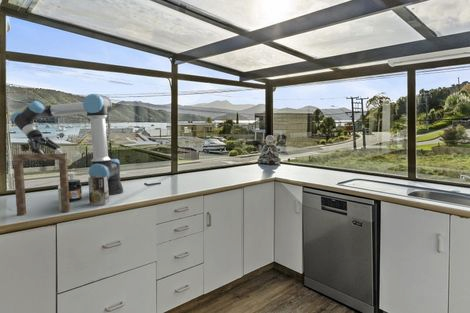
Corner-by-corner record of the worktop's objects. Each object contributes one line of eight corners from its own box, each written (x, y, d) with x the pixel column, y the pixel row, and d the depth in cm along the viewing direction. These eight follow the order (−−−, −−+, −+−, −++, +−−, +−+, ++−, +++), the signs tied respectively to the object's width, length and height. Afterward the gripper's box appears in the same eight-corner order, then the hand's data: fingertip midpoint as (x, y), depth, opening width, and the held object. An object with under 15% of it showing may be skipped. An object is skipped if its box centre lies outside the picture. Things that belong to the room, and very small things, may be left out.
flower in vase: (83, 191, 211) (81, 155, 209) (80, 194, 200) (78, 157, 198) (62, 192, 207) (60, 156, 205) (58, 195, 197) (55, 157, 194)
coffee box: (109, 202, 180) (108, 175, 178) (105, 205, 173) (104, 177, 172) (94, 202, 180) (92, 175, 178) (89, 205, 173) (87, 177, 172)
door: (66, 210, 161) (65, 187, 160) (59, 210, 159) (58, 188, 158) (66, 203, 174) (65, 183, 173) (60, 204, 173) (58, 183, 171)
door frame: (69, 210, 162) (66, 153, 158) (68, 212, 159) (64, 153, 156) (19, 213, 156) (15, 154, 153) (17, 215, 153) (12, 154, 150)
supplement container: (76, 202, 181) (75, 182, 179) (59, 201, 181) (57, 182, 180) (85, 197, 191) (84, 179, 190) (69, 197, 191) (68, 179, 190)
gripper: (45, 136, 199) (66, 160, 198) (10, 138, 175) (34, 164, 174) (51, 128, 198) (72, 152, 197) (18, 129, 173) (42, 155, 172)
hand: (55, 158), depth 185 cm, fingers open, 13 cm apart
